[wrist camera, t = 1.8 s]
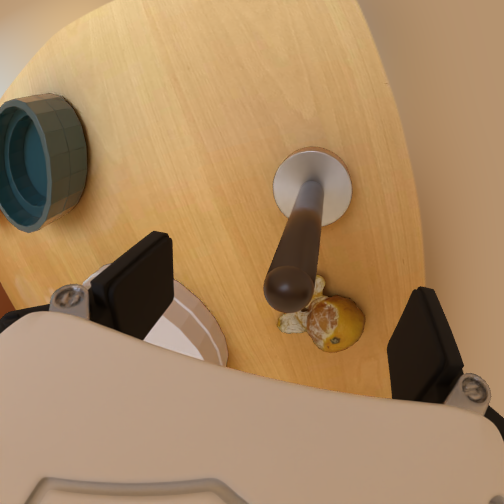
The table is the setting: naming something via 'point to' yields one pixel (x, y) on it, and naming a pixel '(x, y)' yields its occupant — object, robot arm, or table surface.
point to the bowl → (40, 160)
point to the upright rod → (304, 222)
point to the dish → (186, 327)
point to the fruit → (326, 320)
